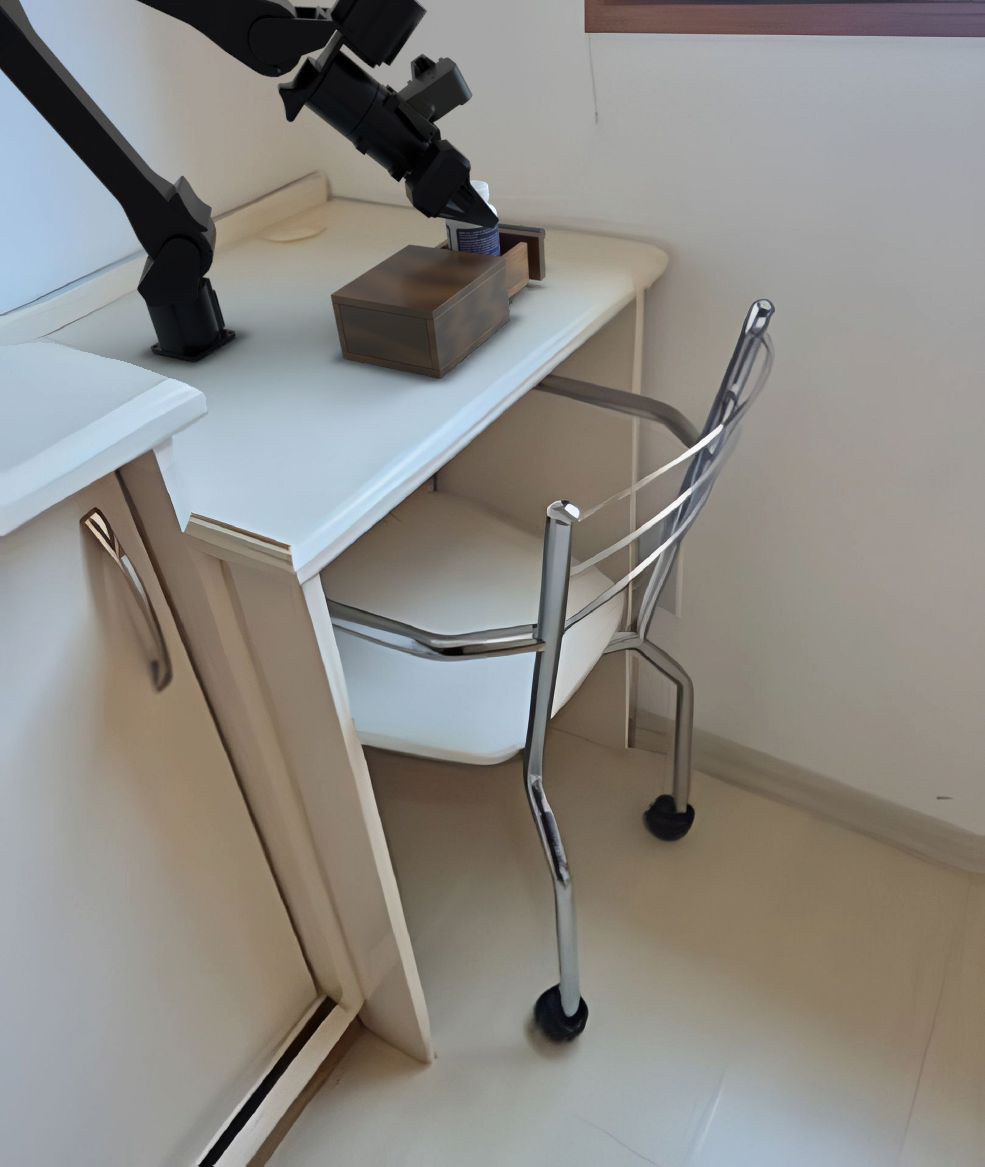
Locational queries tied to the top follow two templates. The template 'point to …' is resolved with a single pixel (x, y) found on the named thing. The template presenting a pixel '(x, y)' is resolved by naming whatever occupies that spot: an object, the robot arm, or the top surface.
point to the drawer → (519, 254)
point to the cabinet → (422, 309)
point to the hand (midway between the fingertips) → (484, 210)
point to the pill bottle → (474, 231)
